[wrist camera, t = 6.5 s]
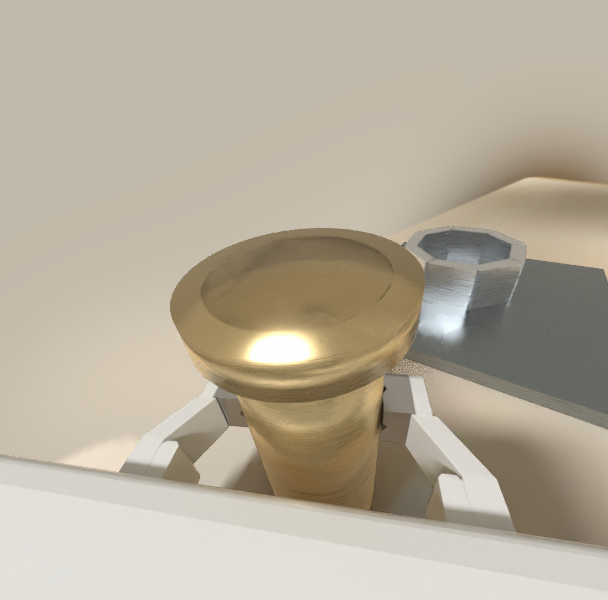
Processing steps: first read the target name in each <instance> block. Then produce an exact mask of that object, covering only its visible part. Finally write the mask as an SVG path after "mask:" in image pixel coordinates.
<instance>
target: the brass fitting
mask: <svg viewBox="0 0 608 600" xmlns="http://www.w3.org/2000/svg"><path fill="white" fill-rule="evenodd" d="M425 281H426V280H425V274H424V270H423V268H422V266H421V264H420V263H419V261H418V260H417V259H416V257H415V256H414V255H413V254H412V253H410V252H409V251H408V250H407V249H405V248H404V247H402V246H401V245H399V244H397V243H395V242H393V241H391V240H388V239H386V238H383V237H380V236H377V235H373V234H370V233H365V232H360V231H354V230H347V229H334V228H333V229H332V228H311V229H297V230H289V231H282V232H277V233H271V234H267V235H263V236H259V237H255V238H252V239H248V240H245V241H243V242H239V243H237V244H234V245H232V246H229V247H227V248H225V249H223V250H220V251H218V252H216V253H215V254H213V255H211V256H209V257H207V258H206V259H205V260H203V261H201V262H200V263H199V264H197V265H196V266H195V267H193V268H192V269H191V270H190V271H189V272H188V273H187V274H186V275H185V276H184V277H183V278H182V279H181V281H180V282H179V283H178V285H177V286H176V288H175V290H174V292H173V294H172V298H171V302H170V311H171V316H172V319H173V322H174V324H175V326H176V328H177V330H178V332H179V334H180V336H181V339H182V341H183V343H184V345H185V347H186V349H187V351H188V353H189V355H190V357H191V359H192V361H193V363H194V365H195V367H196V368H197V369H198V370H199V371H200V373H201V374H202V375H203V376H204V377H205V378H206V379H208V380H209V381H210V382H212V383H213V384H214V385H216V386H218V387H220V388H221V389H223V390H225V391H227V392H229V393H232V394H235V395H237V397H238V400H239V402H240V405H241V408H242V410H243V413H244V416H245V418H246V421H247V423H248V426H249V429H250V431H251V434H252V436H253V439H254V442H255V445H256V447H257V450H258V452H259V455H260V458H261V460H262V463H263V466H264V468H265V471H266V473H267V476H268V479H269V481H270V484H271V487H272V489H273V492H274V494H275V496H279V497H286V498H292V499H299V500H305V501H312V502H319V503H325V504H332V505H338V506H345V507H351V508H358V509H364V510H370V507H371V504H372V500H373V494H374V483H375V473H376V462H377V451H378V440H379V429H380V419H381V408H382V397H383V386H384V376H385V374H386V373H387V372H389V371H390V370H391V369H392V368H394V367H395V366H396V365H397V364H398V363H399V362H400V361H401V360H402V359H403V357H404V356H405V355H406V354H407V352H408V351H409V349H410V348H411V346H412V344H413V342H414V340H415V337H416V334H417V331H418V325H419V319H420V313H421V307H422V301H423V296H424V289H425Z"/></svg>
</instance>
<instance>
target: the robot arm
mask: <svg viewBox="0 0 608 600" xmlns="http://www.w3.org/2000/svg"><path fill="white" fill-rule="evenodd" d="M229 426H240V427H249V426H248V423H247V421H246V418H245V416H244V413H243V410H242V408H241V405H240V402H239V400H238V397H237V395H235V394H232V393H229V392H227V391H225V390H223V389H221V388H220V387H218V386H216V385H214V384H213V383H212V382H210V381H209V382H208V384H207V386H206V387H205V389H204V391H203V393H202V394H201V396H200V397H196V398H194V399H193V400H192V401H190V402H189V403H187V404H186V405H185V406H183V407H182V408H181V409H179V410H178V411H177V412H175V413H174V414H173V415H171V416H170V417H168V418H167V419H166V420H164V421H163V422H161V423H160V424H159V425H157V426H156V427H155V428H153V429H152V430H150V431H149V432H148V433H146V434H145V435H144V436H142V438H141V439H140V441H139V442H138V444H137V445H136V447H135V448H134V450H133V451H132V453H131V454H130V456H129V457H128V459H127V460H126V462H125V463H124V465H123V466H122V468H121V469H120V471H119V472H115V471H108V470H101V469H95V468H88V467H82V466H75V465H69V464H62V463H55V462H49V461H42V460H35V459H29V458H22V457H16V456H9V455H3V454H0V600H608V547H607V546H601V545H594V544H587V543H581V542H574V541H568V540H561V539H555V538H548V537H542V536H535V535H528V534H522V533H517V532H516V530H515V527H514V524H513V522H512V519H511V516H510V513H509V511H508V508H507V505H506V503H505V500H504V497H503V495H502V492H501V489H500V486H499V484H498V481H497V479H496V478H495V477H494V476H493V475H492V474H491V473H490V471H489V470H488V469H487V468H486V467H485V466H484V465H483V464H482V463H481V462H480V461H479V460H478V459H477V458H476V457H475V456H474V455H473V454H472V452H471V451H470V450H469V449H468V448H467V447H466V446H465V445H464V444H463V443H462V442H461V441H460V440H459V439H458V438H457V437H456V436H455V434H454V433H453V432H452V431H451V430H450V429H449V428H448V427H447V426H446V425H445V424H444V423H443V422H442V421H441V420H440V419H439V418H438V417H437V416H433V414H432V410H431V406H430V401H429V397H428V393H427V389H426V385H425V381H424V378H423V377H422V376H411V375H408V376H407V375H394V374H385V376H384V386H383V397H382V408H381V419H380V431H381V441H386V442H394V443H401V444H405V446H406V447H407V449H408V450H409V452H410V453H411V455H412V456H413V458H414V459H415V461H416V462H417V464H418V465H419V467H420V468H421V470H422V471H423V473H424V474H425V476H426V477H427V479H428V480H429V482H430V483H431V485H432V486H433V488H434V490H433V492H432V495H431V498H430V500H429V503H428V506H427V508H426V514H427V519H424V518H417V517H410V516H404V515H397V514H391V513H384V512H378V511H371V510H364V509H358V508H351V507H345V506H338V505H332V504H325V503H319V502H312V501H305V500H299V499H292V498H286V497H279V496H273V495H266V494H259V493H253V492H246V491H240V490H233V489H227V488H220V487H213V486H206V485H200V484H198V482H199V479H200V475H199V473H198V471H197V470H196V468H195V467H194V465H193V464H194V463H195V462H196V461H197V459H198V458H199V457H200V456H201V455H202V454H203V453H204V452H205V451H206V450H207V449H208V448H209V447H210V446H211V445H212V444H213V443H214V442H215V441H216V440H217V439H218V438H219V437H220V436H221V435H222V434H223V433H224V431H226V430H227V428H228V427H229Z"/></svg>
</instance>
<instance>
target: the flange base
mask: <svg viewBox="0 0 608 600" xmlns="http://www.w3.org/2000/svg"><path fill="white" fill-rule="evenodd" d="M401 246H402V247H404V248H405V249H407V250H408V251H409V252H410V253H412V254H413V255H414V256H415V257H416V259H417V260H418V261H419V263H420V264H421V266H422V268H423V270H424V274H425V280H426V281H425V289H424V296H423V301H422V307H421V313H420V319H419V325H418V331H417V334H416V337H415V340H414V342H413V344H412V346H411V348H410V349H409V351H408V352H407V354H406V355H405V356H404V358H407V359H410V360H413V361H416V362H419V363H422V364H424V365H427V366H430V367H433V368H436V369H439V370H441V371H444V372H447V373H450V374H453V375H456V376H458V377H461V378H464V379H467V380H470V381H473V382H476V383H478V384H481V385H484V386H487V387H490V388H493V389H495V390H498V391H501V392H504V393H507V394H510V395H513V396H515V397H518V398H521V399H524V400H527V401H530V402H532V403H535V404H538V405H541V406H544V407H547V408H549V409H552V410H555V411H558V412H561V413H564V414H567V415H569V416H572V417H575V418H578V419H581V420H584V421H586V422H589V423H592V424H595V425H598V426H601V427H604V428H606V429H608V281H607V278H606V276H605V273H604V270H603V269H598V268H591V267H583V266H576V265H569V264H561V263H554V262H547V261H539V260H532V259H525V257H526V245H525V244H524V243H522V242H520V241H517V240H515V239H513V238H510V237H508V236H506V235H503V234H501V233H499V232H496V231H491V230H487V229H477V228H466V227H456V226H452V227H449V226H447V227H441V228H435V229H430V230H424V231H418V233H415V234H414V235H413V236H412V237H411V239H410V240H409V241H408V242H404V243H403V244H402V245H401Z"/></svg>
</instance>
